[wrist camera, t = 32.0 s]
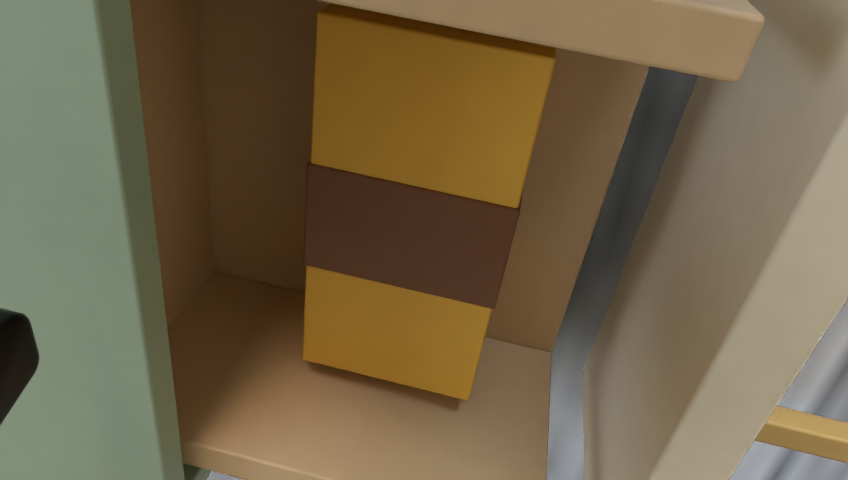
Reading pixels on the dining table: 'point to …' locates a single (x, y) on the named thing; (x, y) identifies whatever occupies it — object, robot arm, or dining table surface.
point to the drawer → (514, 243)
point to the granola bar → (413, 192)
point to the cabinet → (82, 250)
